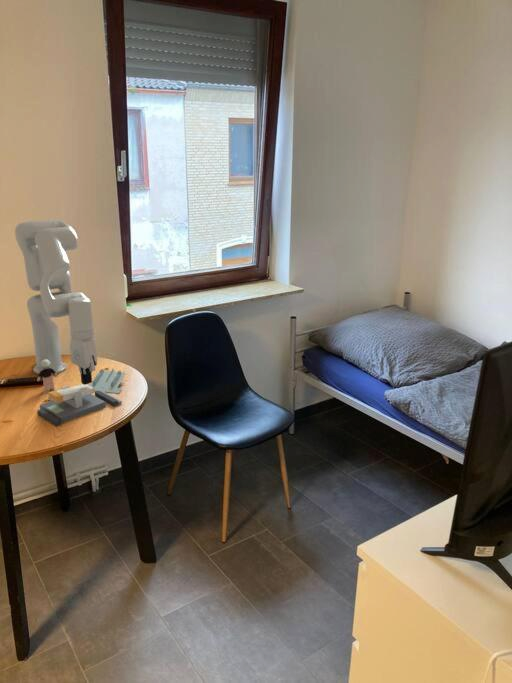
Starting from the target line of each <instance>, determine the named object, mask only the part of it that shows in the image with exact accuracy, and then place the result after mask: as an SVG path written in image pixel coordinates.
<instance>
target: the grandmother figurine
mask: <svg viewBox="0 0 512 683" xmlns="http://www.w3.org/2000/svg"><path fill="white" fill-rule="evenodd" d="M49 366H50V362H49V360H47V359H45V360H43V361H41V367H42V368H43V369H44V370H42V371H41V372H40V373H39V374H37V379H36V381H37V382H40V381H41V378H42V382H43V393H44V394H49V392H52V391H56V387H55V382H54V378H53V376H55V377H56V378H57V377H58V373H56V372H55V371H54V370H53V369H52V368H49ZM51 373H52V374H51Z"/></svg>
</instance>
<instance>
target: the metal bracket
mask: <svg viewBox="0 0 512 683" xmlns="http://www.w3.org/2000/svg"><path fill="white" fill-rule="evenodd" d="M126 374H127V373H126V371H125V372H124V371H121V370H118V371H115V370H114V368H112V369H111V370H104V369H103V368H100V370H98V371H97V374H96V375H95V376H94V378H93V379H92V383H89V384H88V385H89V386H91V387H93V388H94V392H96V391H104V392H105V393H107V394H110V395H111V394H112V395H113V394H114V395H119V394H121V391H122V390H123V388H122V387H119V386H120V385H121V383H122V381H123V379H124V377H125V375H126Z"/></svg>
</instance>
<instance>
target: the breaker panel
mask: <svg viewBox="0 0 512 683" xmlns="http://www.w3.org/2000/svg"><path fill="white" fill-rule="evenodd" d="M66 388H70V385H66V386H63V387H61V390H62V389H66ZM106 404H107V403H106V402H105V401H103V400H101V399H99V398H97V397H96V396H95V394H89V395H85V396H82V394H81V392H79V393H76V394H74V398H73V399H69V400H65V401H63V402H59V403H56V402H54V401H52V400H50V401H47V402H44V403H41V404H39V410H40V409H44V410H45V411H47V412H49V413H50V414H52V415H53V416H55V417H56V418H58V419H60V420H61V425H62V424H64V423H66V422H67V423H68V422H70V421H72V420H74V419H75V420H76V419H78V418H80V417H82V416H85V415H87V414H88V415H89V414H91V413H93V412H94V413H95V412H97V411H99V410H102V409H104V408H107V405H106Z"/></svg>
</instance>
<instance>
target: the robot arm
mask: <svg viewBox="0 0 512 683" xmlns="http://www.w3.org/2000/svg"><path fill="white" fill-rule="evenodd" d="M14 230H15V231H14V235H15V240H16V242H17V244H18V247H19V248H20V251H21V253H22V256H23V260H24V261H23V262H24V267H25V273H26V275H25V276H26V280H27V285H28V287H29V289H30V290H32V291H36V292H38V291H39V292H40V293H39V294H34V295H32V296H30V297H29V298H28V299H27V301H26V308H27V311H28V315H29V318H30V321H31V328H32V335H33V336H32V337H33V342H34V352H35V361H36V365H35V366H33V373H35V374H37V375H39V373H40V372H41V371H42V370H44V369H43V368H42V367H41V361H43V360H45V359H47V360H49V362H50V366H49V368H52V369H53V370H54V371H55V372H56V373H57V374H60V373H62V372H64V371H65V370H66V369H67V364H66V363H65V362H63V361H62V360H63V359H62V351H61V342H60V341H61V340H60V331H59V327H58V325H57V324H56V322H54V321H53V320H52V319H51V318H54V319H55V318H63V317H67V316H68V321H69V329H70V330H69V331H70V342H69V343H70V344H69V347H70V348H69V349H70V351H69V352H70V361H71V363H72V364H74V365H76V366H77V367H78V370H79V373H80V379H81V380H80V382H81V385H83V384H84V385H86V384H87V385H90V384H91V383H92V381H93V379H92V373H93V372H95V371H96V366H97V365H98V356H97V355H98V354H97V349H96V348H97V347H96V344H95V342H96V341H95V339H94V338H95V332H94V322H93V320H94V319H93V310H92V309H93V308H92V301H91V300H90V299H89V298H88V297H87V296H86V295H85V294H84V293H83V292H79V291H78V292H77V291H76V292H73V291H74V290H73V285H72V283H73V282H72V277H71V273H70V268H71V263H70V260H69V257H68V255H67V253H66V251H74V250H76V249H77V248H78V246H79V238H78V235H77V233H76V231H75V230H74V229H73V227H72V226H71V225H69V224H67V223H65V222H64V220H63V221H62V220H60V219H55V220H54V219H51V220H33V221H25V222H21V223H18V224H17V225H16V227H15V229H14ZM51 290H58V291H54V292H51ZM51 374H52V373H51ZM52 375H53V374H52Z"/></svg>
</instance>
